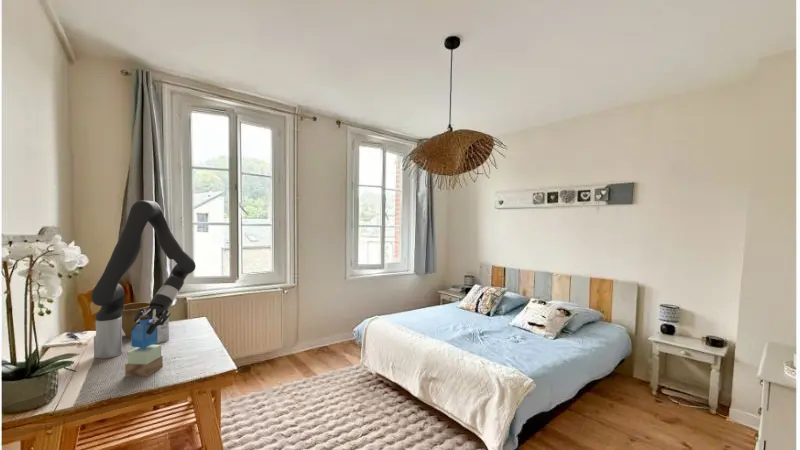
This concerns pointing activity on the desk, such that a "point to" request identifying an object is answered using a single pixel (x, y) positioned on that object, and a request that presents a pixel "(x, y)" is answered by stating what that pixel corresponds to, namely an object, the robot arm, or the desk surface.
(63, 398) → the desk surface
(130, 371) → the tower base block
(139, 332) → the perfume bottle
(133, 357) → the tower top block
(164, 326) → the ink cartridge box
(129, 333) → the plant pot
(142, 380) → the desk surface
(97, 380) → the desk surface
